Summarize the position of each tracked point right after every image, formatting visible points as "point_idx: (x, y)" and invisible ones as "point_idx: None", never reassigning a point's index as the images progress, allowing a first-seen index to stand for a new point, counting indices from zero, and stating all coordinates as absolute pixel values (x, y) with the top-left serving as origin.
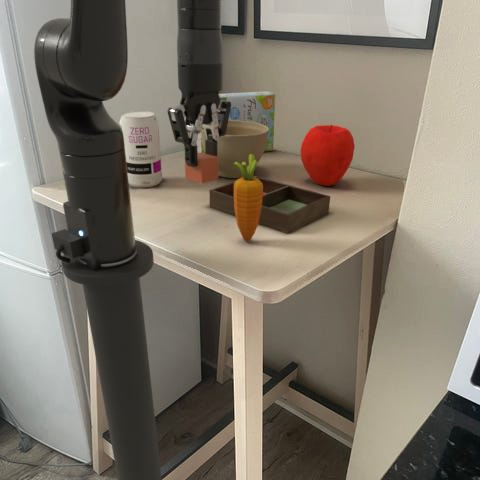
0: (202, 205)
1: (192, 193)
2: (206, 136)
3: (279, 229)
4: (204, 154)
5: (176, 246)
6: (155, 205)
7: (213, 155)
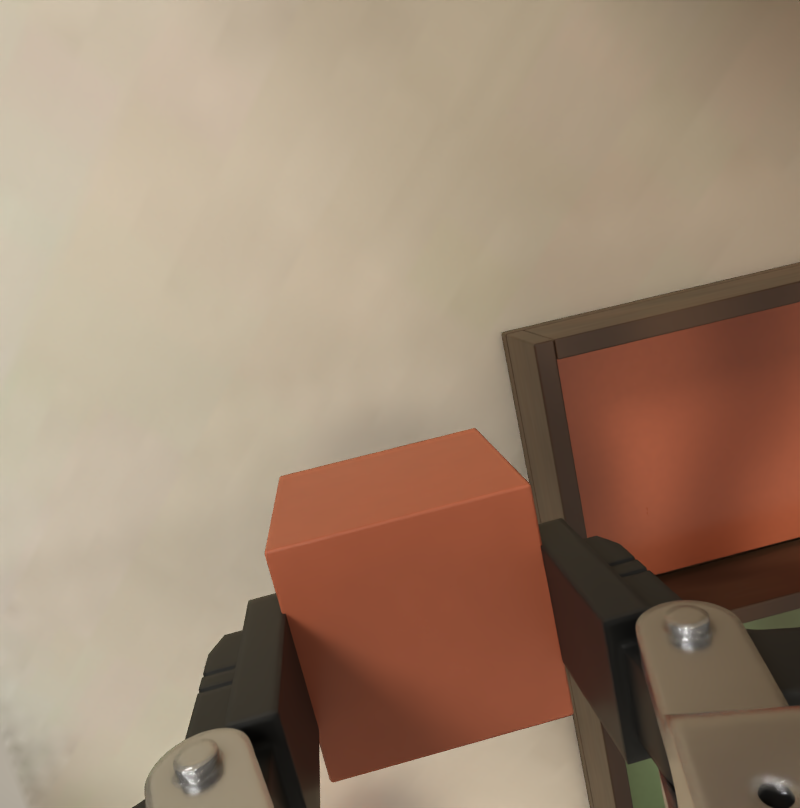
0: (483, 278)
1: (561, 27)
2: (639, 659)
3: (588, 793)
4: (510, 574)
5: (54, 706)
6: (221, 90)
7: (562, 659)
